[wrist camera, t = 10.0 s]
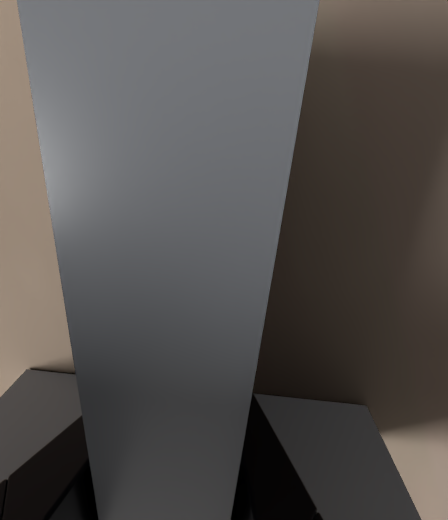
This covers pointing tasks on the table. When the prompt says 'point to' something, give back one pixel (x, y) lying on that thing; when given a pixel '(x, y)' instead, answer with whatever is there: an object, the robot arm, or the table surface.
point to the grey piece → (177, 256)
